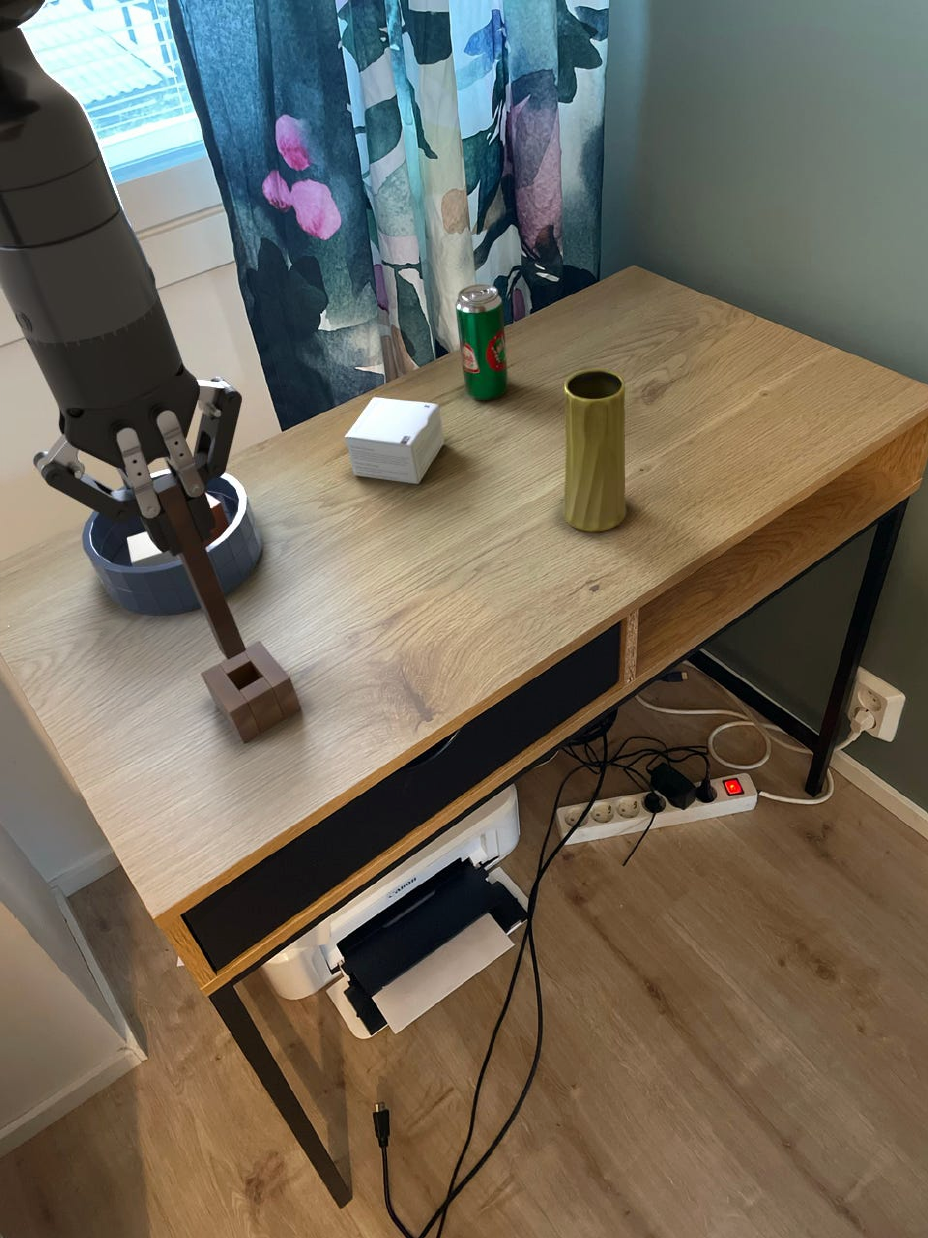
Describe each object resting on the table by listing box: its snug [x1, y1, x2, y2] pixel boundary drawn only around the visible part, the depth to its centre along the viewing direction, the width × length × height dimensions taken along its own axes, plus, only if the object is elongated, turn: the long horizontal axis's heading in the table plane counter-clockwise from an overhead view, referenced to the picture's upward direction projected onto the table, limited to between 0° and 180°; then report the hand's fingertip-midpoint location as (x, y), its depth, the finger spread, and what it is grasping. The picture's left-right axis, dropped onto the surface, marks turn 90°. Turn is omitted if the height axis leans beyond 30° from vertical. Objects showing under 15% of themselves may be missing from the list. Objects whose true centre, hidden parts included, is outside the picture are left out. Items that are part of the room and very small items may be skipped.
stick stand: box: [200, 640, 302, 744], centre depth 73 cm, size 5×5×4 cm
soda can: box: [455, 283, 509, 401], centre depth 100 cm, size 5×5×12 cm
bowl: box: [81, 468, 263, 616], centre depth 87 cm, size 16×16×6 cm
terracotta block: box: [203, 493, 229, 548], centre depth 89 cm, size 4×4×4 cm
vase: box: [562, 368, 627, 533], centre depth 82 cm, size 6×6×14 cm
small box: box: [344, 396, 445, 485], centre depth 95 cm, size 8×8×5 cm
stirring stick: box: [153, 474, 247, 660], centre depth 64 cm, size 2×2×16 cm
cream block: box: [127, 531, 180, 567], centre depth 85 cm, size 4×4×4 cm
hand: (187, 541), depth 61 cm, fingers closed on stirring stick, 1 cm apart
